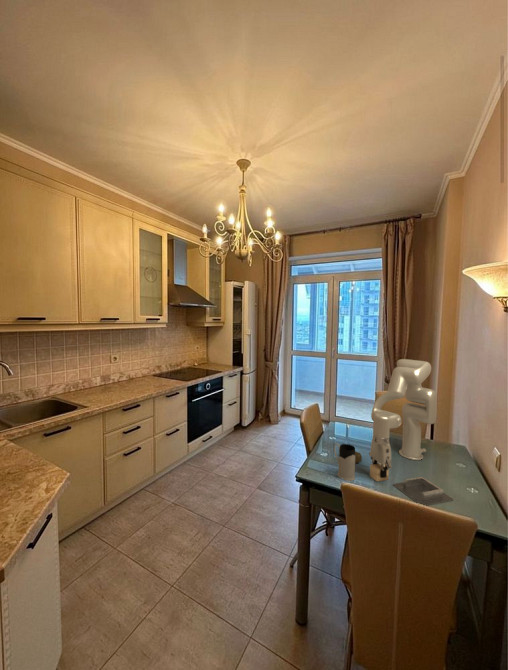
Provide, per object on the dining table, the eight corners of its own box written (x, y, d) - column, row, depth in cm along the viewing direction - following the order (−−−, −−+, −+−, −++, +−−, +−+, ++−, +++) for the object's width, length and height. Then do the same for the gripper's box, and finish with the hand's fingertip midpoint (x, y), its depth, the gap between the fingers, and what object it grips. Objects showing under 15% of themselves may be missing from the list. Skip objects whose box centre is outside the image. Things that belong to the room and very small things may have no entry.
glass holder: (345, 482, 131) (347, 452, 131) (326, 467, 144) (328, 440, 144) (359, 478, 135) (360, 449, 134) (339, 465, 148) (340, 438, 147)
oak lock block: (381, 474, 140) (381, 463, 139) (388, 479, 135) (388, 467, 135) (369, 475, 138) (370, 464, 138) (376, 481, 133) (377, 469, 133)
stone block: (356, 465, 149) (357, 456, 149) (338, 456, 158) (339, 448, 158) (362, 461, 153) (362, 453, 152) (344, 454, 161) (344, 446, 161)
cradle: (422, 480, 135) (422, 473, 135) (453, 500, 120) (453, 492, 120) (392, 485, 130) (393, 477, 130) (421, 506, 115) (422, 498, 115)
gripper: (400, 445, 129) (398, 482, 129) (375, 432, 145) (373, 465, 145) (387, 447, 126) (385, 484, 127) (363, 433, 143) (361, 466, 143)
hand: (379, 473), depth 136 cm, fingers closed on oak lock block, 5 cm apart
